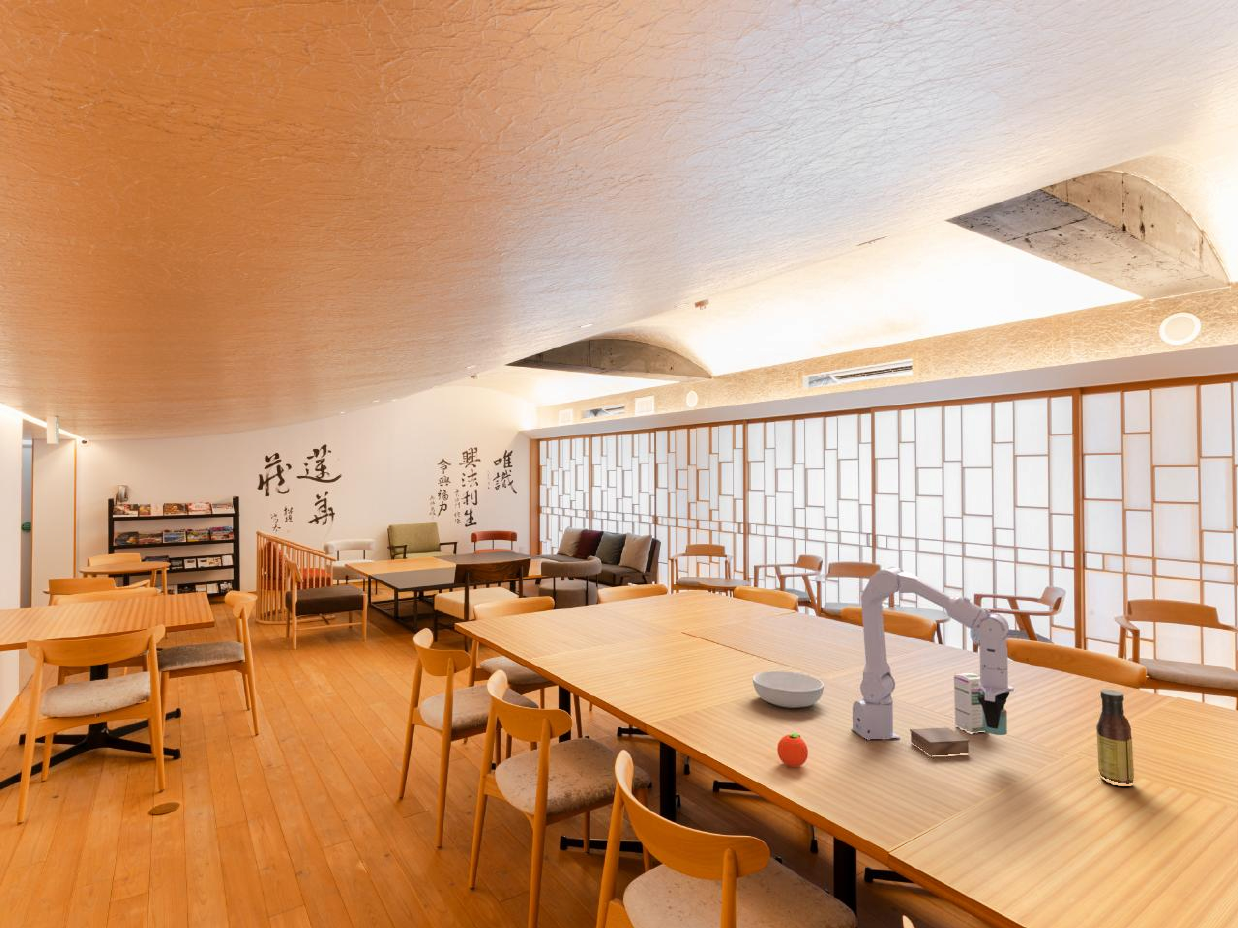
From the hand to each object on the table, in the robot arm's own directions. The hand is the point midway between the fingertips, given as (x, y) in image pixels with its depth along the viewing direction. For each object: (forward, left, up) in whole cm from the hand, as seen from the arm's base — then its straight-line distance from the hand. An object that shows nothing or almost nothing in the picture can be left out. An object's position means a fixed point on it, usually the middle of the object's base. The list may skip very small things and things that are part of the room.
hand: (994, 723), depth 150 cm
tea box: (-8, +9, -10) cm, 15 cm away
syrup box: (+9, +20, -10) cm, 24 cm away
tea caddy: (0, 0, -2) cm, 2 cm away
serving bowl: (-32, +46, -10) cm, 57 cm away
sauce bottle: (+20, -12, -10) cm, 25 cm away
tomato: (-48, +5, -10) cm, 49 cm away
